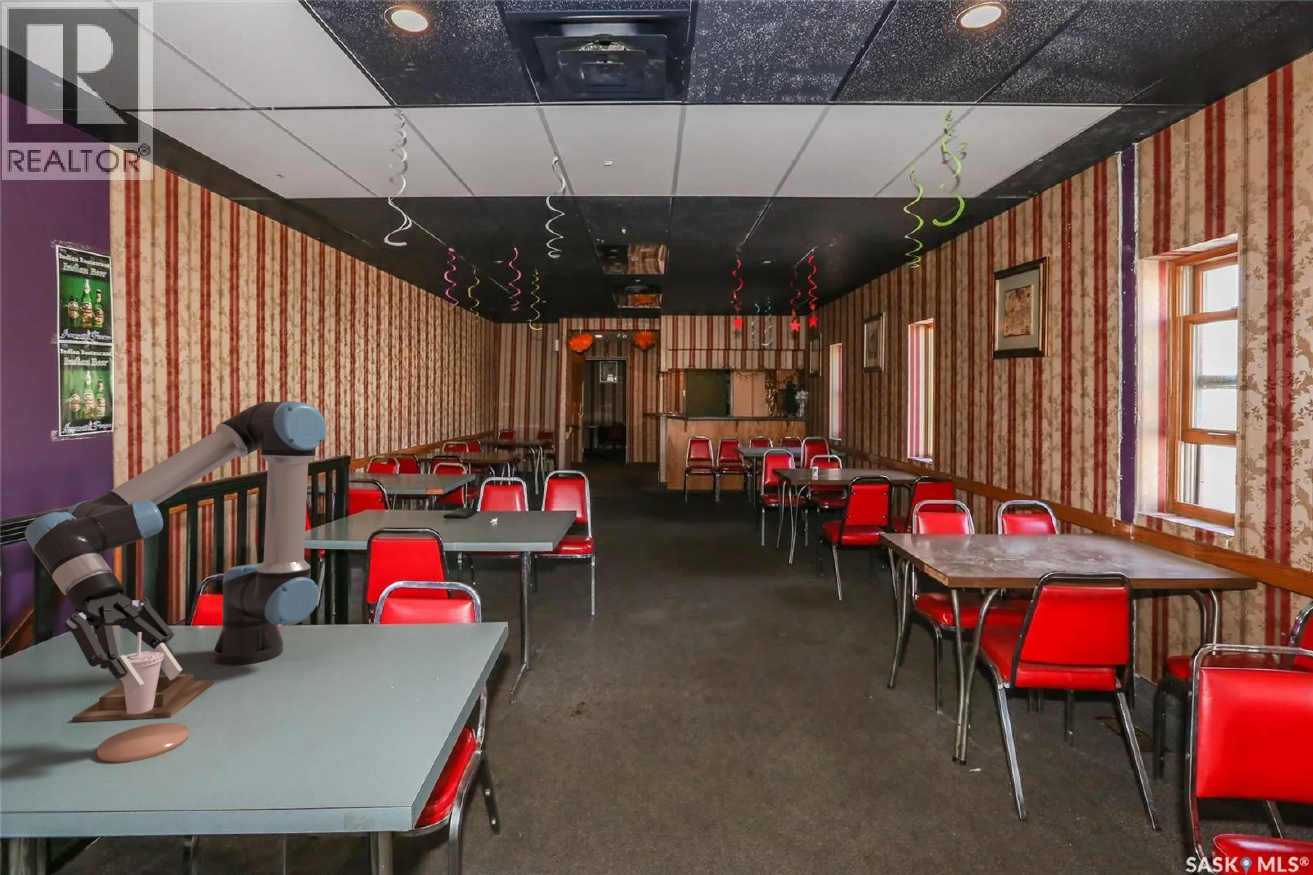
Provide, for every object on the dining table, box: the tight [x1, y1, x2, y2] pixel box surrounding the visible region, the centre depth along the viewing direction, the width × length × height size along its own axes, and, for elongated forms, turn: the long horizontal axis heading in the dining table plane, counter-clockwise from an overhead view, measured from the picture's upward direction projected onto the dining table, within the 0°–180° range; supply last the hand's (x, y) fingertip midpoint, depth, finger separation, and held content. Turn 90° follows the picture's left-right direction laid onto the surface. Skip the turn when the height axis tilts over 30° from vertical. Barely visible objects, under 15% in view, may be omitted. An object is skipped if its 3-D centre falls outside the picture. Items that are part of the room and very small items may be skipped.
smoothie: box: [124, 632, 164, 714], centre depth 116 cm, size 6×6×14 cm
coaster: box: [96, 722, 190, 763], centre depth 117 cm, size 13×13×1 cm
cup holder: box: [72, 673, 214, 723], centre depth 135 cm, size 17×17×4 cm
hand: (157, 681), depth 115 cm, fingers closed on smoothie, 6 cm apart
